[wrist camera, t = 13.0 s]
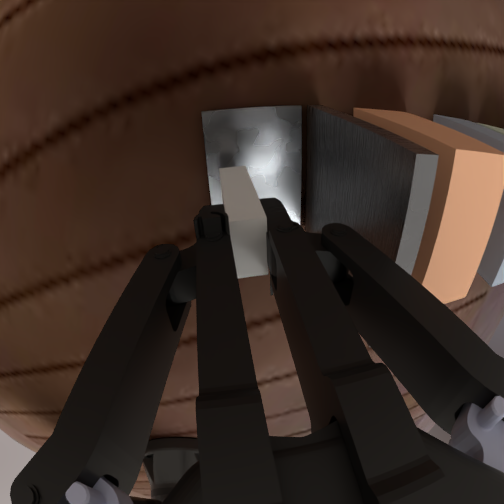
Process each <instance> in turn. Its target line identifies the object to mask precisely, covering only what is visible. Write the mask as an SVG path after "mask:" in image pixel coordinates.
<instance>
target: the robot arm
mask: <svg viewBox="0 0 504 504" xmlns="http://www.w3.org/2000/svg"><path fill="white" fill-rule="evenodd" d="M219 172H220V182H221V192H222V201H223V204H217V205H209V206H203V207H202V209H201V210H200V211H199V214H198V215H197V216H196V217H195V218H194V220H193V221H194V227H195V232H196V238H197V242H196V243H195V244H194V245H193V246H191V247H189V248H187V249H184V250H181V251H179V249H178V247H177V246H175V245H172V244H161V245H158V246H156V247H154V248H152V249H150V250H149V251H148V253H147V254H146V255H145V257H144V258H143V260H142V262H141V263H140V265H139V267H138V268H137V270H136V272H135V273H134V275H133V277H132V278H131V280H130V282H129V283H128V285H127V287H126V288H125V290H124V292H123V293H122V295H121V297H120V299H119V300H118V302H117V304H116V306H115V307H114V309H113V311H112V313H111V315H110V316H109V318H108V320H107V322H106V324H105V325H104V327H103V329H102V331H101V333H100V335H99V337H98V338H97V340H96V342H95V344H94V346H93V348H92V350H91V352H90V354H89V356H88V358H87V360H86V362H85V364H84V366H83V368H82V370H81V372H80V374H79V376H78V378H77V380H76V382H75V384H74V386H73V389H72V391H71V393H70V395H69V397H68V399H67V402H66V404H65V406H64V408H63V410H62V413H61V415H60V417H59V420H58V422H57V424H56V427H55V429H54V432H53V434H52V435H51V436H50V438H49V439H48V440H47V441H46V442H45V443H44V445H43V446H42V447H41V448H40V449H39V451H38V452H37V453H36V454H35V455H34V456H33V458H32V459H31V460H30V461H29V462H28V464H27V465H26V466H25V467H24V469H23V470H22V471H21V472H20V473H19V475H18V476H17V477H16V478H15V480H14V482H13V483H12V486H11V492H10V496H11V501H12V504H504V358H502V357H500V356H499V355H497V354H496V353H495V352H493V350H492V349H491V348H490V347H489V346H488V345H487V344H486V343H485V342H484V341H482V340H481V339H480V338H479V337H478V336H477V335H476V334H475V333H474V332H473V331H472V330H471V329H470V328H469V327H468V326H467V325H466V324H465V323H464V322H463V321H462V320H461V319H459V318H458V317H457V316H456V315H455V314H454V313H453V312H452V311H451V310H450V309H449V308H447V307H446V306H445V305H444V304H443V303H442V302H441V301H440V300H439V299H437V298H436V297H435V296H434V295H433V294H432V293H431V292H429V291H428V290H427V289H426V288H425V287H424V286H423V285H421V284H420V283H419V282H418V281H417V280H416V279H414V278H413V277H412V276H411V275H410V274H408V273H407V272H406V271H405V270H404V269H402V268H401V267H400V266H399V265H398V264H396V263H395V262H394V261H393V260H392V259H390V258H389V257H388V256H387V255H385V254H384V253H383V252H382V251H380V250H379V249H378V248H377V247H375V246H374V245H373V244H371V243H370V242H369V241H368V240H366V239H365V238H364V237H363V236H361V235H360V234H359V233H357V232H356V231H355V230H353V229H352V228H351V227H349V226H347V225H344V224H341V223H331V224H327V225H325V226H324V227H323V228H322V234H321V233H309V232H305V231H304V230H303V228H302V226H301V225H300V224H299V223H297V222H294V221H292V220H291V218H290V216H289V214H288V213H287V211H286V209H285V207H284V205H283V204H282V202H281V201H280V200H278V199H277V198H275V197H274V198H264V199H259V197H258V195H257V193H256V190H255V188H254V185H253V183H252V180H251V178H250V176H249V173H248V171H247V169H246V166H237V167H228V168H219ZM268 266H269V270H270V291H271V295H273V292H274V296H275V299H276V302H277V306H278V309H279V313H280V316H281V319H282V323H283V326H284V330H285V333H286V336H287V340H288V343H289V347H290V350H291V354H292V357H293V360H294V364H295V367H296V371H297V374H298V378H299V381H300V385H301V388H302V392H303V395H304V399H305V402H306V406H307V409H308V412H309V416H310V420H311V432H312V434H310V435H308V436H305V437H277V436H269V433H268V428H267V423H266V418H265V414H264V409H263V404H262V399H261V394H260V391H259V389H258V386H257V381H256V375H255V370H254V365H253V360H252V354H251V349H250V344H249V338H248V333H247V327H246V322H245V316H244V311H243V305H242V300H241V294H240V288H239V283H238V278H245V277H252V276H260V275H268ZM349 270H350V272H351V273H352V275H353V277H352V276H351V275H350V274H349V273H348V272H349ZM193 299H196V309H197V351H198V376H199V396H198V397H197V398H196V421H197V437H198V439H190V438H163V439H155V440H151V441H148V440H149V437H150V433H151V430H152V427H153V423H154V420H155V416H156V413H157V410H158V406H159V403H160V400H161V397H162V393H163V390H164V387H165V384H166V380H167V377H168V374H169V371H170V368H171V365H172V361H173V358H174V355H175V352H176V349H177V346H178V343H179V340H180V337H181V334H182V331H183V328H184V325H185V322H186V319H187V316H188V313H189V310H190V307H191V300H193ZM359 334H360V335H361V336H362V337H363V338H364V340H365V341H366V342H367V343H368V344H369V345H370V347H371V348H372V349H373V350H374V351H375V352H376V354H377V355H378V356H379V357H380V358H381V359H382V361H383V362H384V363H385V364H386V365H387V366H386V365H384V364H383V363H374V362H373V361H372V359H371V357H370V355H369V353H368V351H367V349H366V347H365V345H364V343H363V341H362V339H361V337H360V335H359ZM387 367H388V368H389V369H390V370H391V371H392V373H393V374H394V375H395V376H396V377H397V378H398V380H399V381H400V382H401V383H402V384H403V386H404V387H405V388H406V389H407V391H408V392H409V393H410V394H411V395H412V397H413V398H414V399H415V400H416V401H417V403H418V404H419V405H420V406H421V408H422V409H423V410H424V411H425V412H426V413H427V414H428V416H429V417H430V418H431V419H432V420H433V421H434V422H435V423H436V424H437V425H439V426H440V427H441V428H442V429H443V430H444V431H446V432H447V433H449V434H450V435H451V439H450V441H449V445H448V444H446V443H444V442H442V441H441V440H439V439H437V438H435V437H433V436H431V435H430V434H428V433H426V432H424V431H423V430H421V429H419V428H417V427H416V425H415V423H414V421H413V419H412V417H411V414H410V412H409V410H408V408H407V406H406V404H405V401H404V399H403V397H402V395H401V393H400V391H399V389H398V387H397V385H396V383H395V381H394V379H393V377H392V375H391V373H390V371H389V369H388V368H387ZM142 463H143V466H144V469H145V472H146V474H147V477H148V480H149V483H150V485H151V499H146V498H139V497H133V496H128V495H129V494H130V492H131V490H132V488H133V486H134V484H135V482H136V480H137V477H138V474H139V471H140V468H141V465H142Z"/></svg>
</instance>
